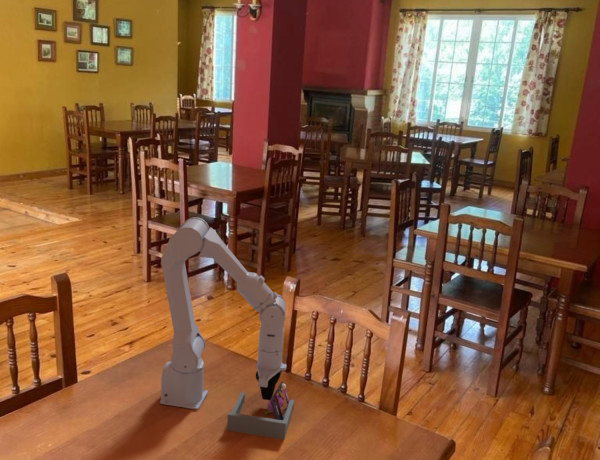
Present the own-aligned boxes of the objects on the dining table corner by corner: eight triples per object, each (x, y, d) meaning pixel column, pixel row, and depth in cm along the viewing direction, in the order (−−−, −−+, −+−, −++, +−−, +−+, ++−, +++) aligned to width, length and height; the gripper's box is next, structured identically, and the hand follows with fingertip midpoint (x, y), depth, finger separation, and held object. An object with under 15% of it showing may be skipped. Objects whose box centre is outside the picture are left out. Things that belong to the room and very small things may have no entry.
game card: (274, 400, 129) (286, 380, 137) (253, 402, 130) (266, 383, 139) (282, 426, 130) (293, 405, 138) (261, 428, 131) (273, 408, 140)
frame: (226, 430, 127) (227, 414, 126) (240, 401, 139) (241, 386, 138) (284, 439, 126) (285, 423, 125) (293, 409, 137) (294, 394, 136)
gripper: (281, 364, 126) (277, 418, 130) (292, 335, 140) (288, 385, 144) (250, 359, 127) (247, 413, 131) (264, 332, 141) (261, 381, 145)
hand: (267, 398), depth 138 cm, fingers closed
